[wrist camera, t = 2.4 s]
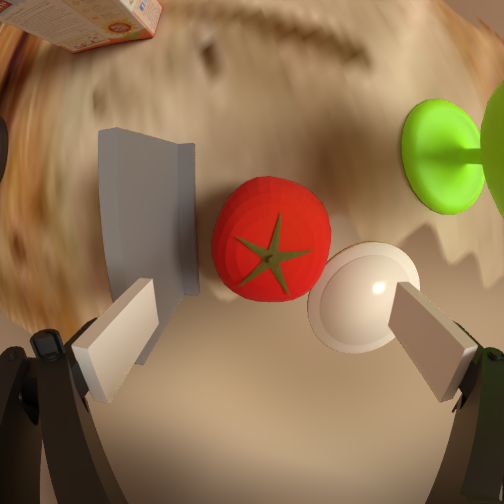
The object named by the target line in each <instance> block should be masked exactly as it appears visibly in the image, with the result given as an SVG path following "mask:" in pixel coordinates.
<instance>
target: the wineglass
mask: <svg viewBox="0 0 504 504" xmlns="http://www.w3.org/2000/svg"><path fill="white" fill-rule="evenodd" d="M401 150H402V161H403V165H404V169H405V173H406V176H407V178H408V181H409V183H410V185H411V187H412V189H413V191H414V192H415V193H416V195H417V196H418V198H419V199H420V200H421V202H423V203H424V204H425V205H426V206H428V207H429V208H430V209H431V210H433V211H435V212H438V213H441V214H447V215H454V214H457V213H460V212H463V211H465V210H466V209H467V208H469V207H470V206H471V205H472V204H474V202H475V201H476V199H477V198H478V196H479V195H480V193H481V191H482V188H483V185H484V183H485V179H486V182H487V185H488V189H489V191H490V193H491V195H492V197H493V199H494V201H495V203H496V205H497V208H498V210H499V212H500V214H501V215H502V217H503V218H504V81H502V82H501V84H500V85H499V86H498V87H497V89H496V90H495V91H494V92H493V94H492V96H491V97H490V99H489V101H488V102H487V106H486V110H485V114H484V118H483V121H482V125H481V133H479V131H478V129H477V127H476V126H475V124H474V122H473V121H472V119H471V118H470V117H469V116H468V115H467V114H466V113H465V112H464V111H463V110H462V109H461V108H459V107H458V106H456V105H454V104H453V103H451V102H448V101H445V100H441V99H431V100H426V101H424V102H422V103H420V104H418V105H417V106H416V107H415V108H414V109H413V110H412V111H411V112H410V114H409V115H408V118H407V120H406V122H405V124H404V127H403V133H402V139H401Z"/></svg>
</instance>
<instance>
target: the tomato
mask: <svg viewBox="0 0 504 504" xmlns="http://www.w3.org/2000/svg"><path fill="white" fill-rule="evenodd" d="M330 244H331V227H330V222H329V218H328V214H327V212H326V210H325V208H324V206H323V204H322V202H321V201H320V200H319V199H318V198H317V197H316V196H315V195H314V194H313V193H312V192H311V191H309V190H308V189H307V188H305V187H303V186H301V185H299V184H297V183H295V182H292V181H288V180H285V179H281V178H276V177H270V176H266V177H256V178H254V179H251V180H249V181H247V182H245V183H244V184H242V185H241V186H240V187H238V188H237V189H236V190H235V191H234V192H233V194H232V195H231V196H230V197H229V198H228V200H227V201H226V203H225V204H224V206H223V207H222V210H221V212H220V214H219V216H218V219H217V222H216V225H215V228H214V231H213V236H212V241H211V249H212V258H213V261H214V265H215V267H216V270H217V272H218V275H219V276H220V278H221V279H222V281H223V282H224V284H225V285H226V286H227V287H228V288H229V289H231V290H232V291H233V292H235V293H236V294H238V295H240V296H242V297H244V298H246V299H250V300H254V301H259V302H284V301H288V300H294V299H296V298H298V297H300V296H302V295H304V294H305V293H307V292H308V291H309V290H310V289H311V288H313V287H314V285H315V284H316V283H317V281H318V280H319V278H320V276H321V274H322V272H323V270H324V268H325V265H326V261H327V258H328V255H329V249H330Z"/></svg>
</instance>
